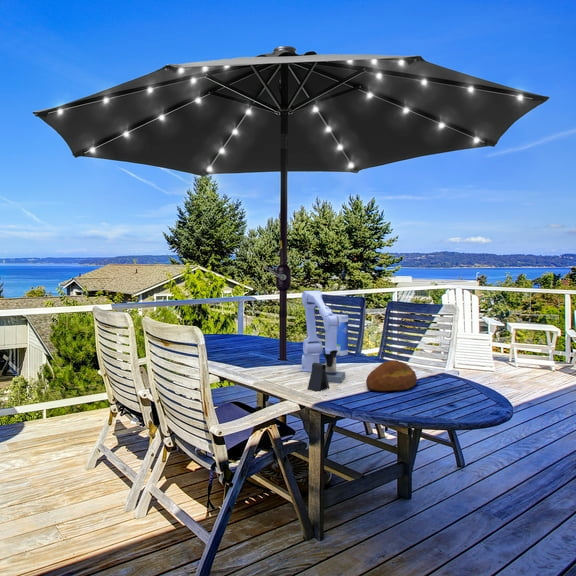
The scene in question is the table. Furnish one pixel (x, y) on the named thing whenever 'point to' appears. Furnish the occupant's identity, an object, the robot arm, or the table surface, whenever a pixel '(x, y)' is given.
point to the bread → (391, 377)
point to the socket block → (335, 376)
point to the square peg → (332, 365)
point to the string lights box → (342, 335)
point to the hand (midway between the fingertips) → (330, 365)
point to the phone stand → (318, 377)
